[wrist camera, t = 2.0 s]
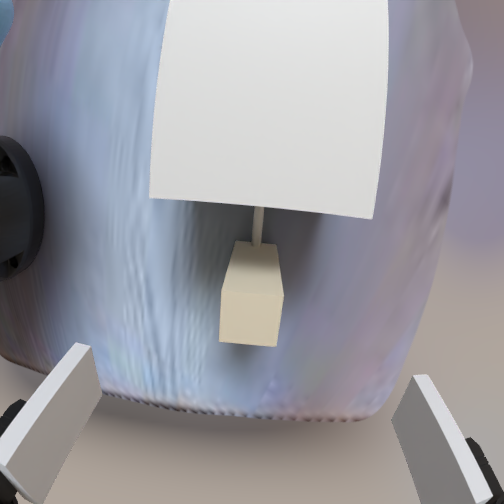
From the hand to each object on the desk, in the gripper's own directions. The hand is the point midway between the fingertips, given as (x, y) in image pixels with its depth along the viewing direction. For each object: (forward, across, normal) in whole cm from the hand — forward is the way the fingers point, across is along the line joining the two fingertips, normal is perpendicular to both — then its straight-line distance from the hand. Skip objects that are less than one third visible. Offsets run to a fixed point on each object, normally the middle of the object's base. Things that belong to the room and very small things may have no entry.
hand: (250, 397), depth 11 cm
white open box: (+15, 0, +14) cm, 20 cm away
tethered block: (+15, 0, +9) cm, 17 cm away
